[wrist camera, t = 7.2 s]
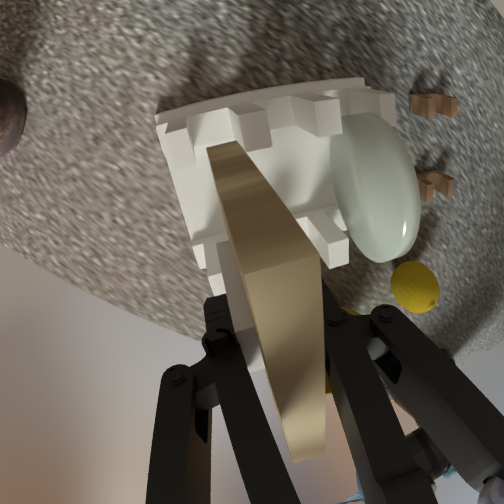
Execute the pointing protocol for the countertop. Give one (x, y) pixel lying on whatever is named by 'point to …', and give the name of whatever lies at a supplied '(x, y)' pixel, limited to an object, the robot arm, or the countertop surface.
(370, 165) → the sage plate
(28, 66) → the countertop surface
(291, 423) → the bamboo board
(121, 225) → the countertop surface
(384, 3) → the countertop surface
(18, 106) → the mortar and pestle
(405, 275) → the lemon
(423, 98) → the board stand
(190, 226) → the dish rack
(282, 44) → the countertop surface
